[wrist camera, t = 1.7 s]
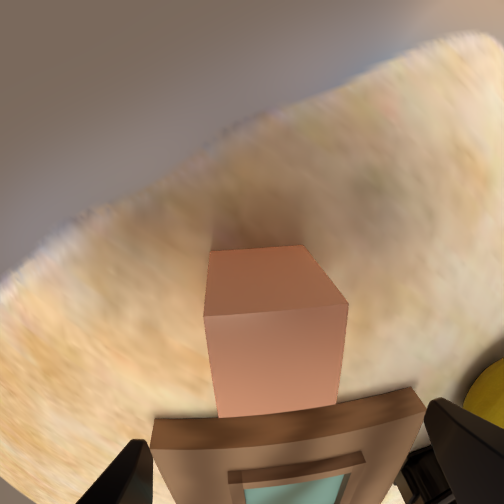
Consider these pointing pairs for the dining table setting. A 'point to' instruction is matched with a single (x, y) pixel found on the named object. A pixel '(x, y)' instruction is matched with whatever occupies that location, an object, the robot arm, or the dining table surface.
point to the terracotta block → (272, 331)
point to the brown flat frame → (290, 453)
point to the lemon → (488, 395)
